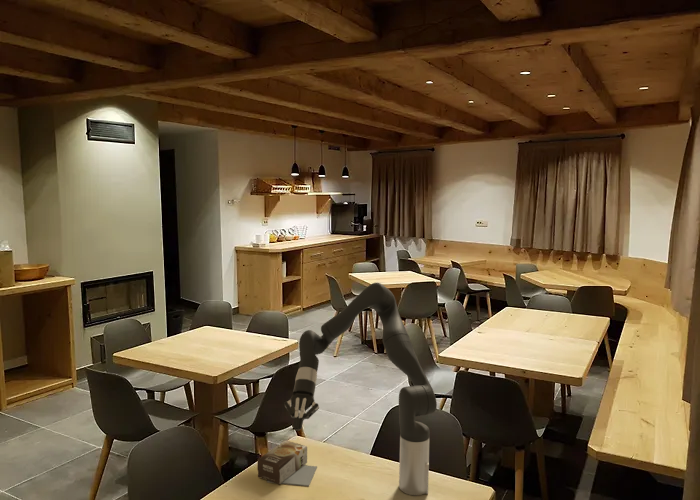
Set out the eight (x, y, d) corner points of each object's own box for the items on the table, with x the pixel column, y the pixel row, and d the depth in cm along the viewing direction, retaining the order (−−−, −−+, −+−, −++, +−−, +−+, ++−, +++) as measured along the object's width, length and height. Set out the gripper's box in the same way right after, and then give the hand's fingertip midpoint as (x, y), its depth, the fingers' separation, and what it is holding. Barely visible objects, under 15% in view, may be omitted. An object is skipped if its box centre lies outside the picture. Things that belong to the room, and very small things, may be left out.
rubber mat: (317, 467, 178) (316, 466, 178) (308, 486, 167) (308, 485, 167) (277, 463, 180) (277, 462, 180) (266, 482, 169) (266, 481, 169)
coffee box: (307, 445, 180) (280, 466, 166) (307, 463, 180) (280, 485, 166) (285, 439, 184) (257, 459, 170) (285, 456, 185) (257, 477, 171)
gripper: (324, 388, 191) (317, 435, 180) (289, 385, 193) (280, 432, 182) (322, 379, 185) (314, 427, 174) (285, 376, 187) (276, 424, 176)
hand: (297, 429), depth 178 cm, fingers closed
